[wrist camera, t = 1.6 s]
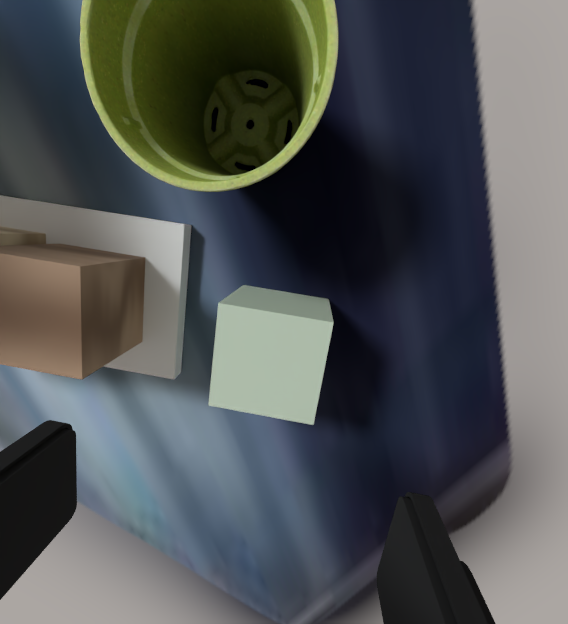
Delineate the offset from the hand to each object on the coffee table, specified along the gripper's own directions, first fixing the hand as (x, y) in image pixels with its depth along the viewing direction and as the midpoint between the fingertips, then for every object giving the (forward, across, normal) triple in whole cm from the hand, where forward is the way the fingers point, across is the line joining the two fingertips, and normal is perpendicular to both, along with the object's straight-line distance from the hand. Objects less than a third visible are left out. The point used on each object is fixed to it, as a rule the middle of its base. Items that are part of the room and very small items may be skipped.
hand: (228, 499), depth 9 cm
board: (+14, +16, -2) cm, 21 cm away
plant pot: (+14, +4, -13) cm, 20 cm away
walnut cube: (+13, +13, -2) cm, 18 cm away
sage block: (+14, 0, -1) cm, 14 cm away
